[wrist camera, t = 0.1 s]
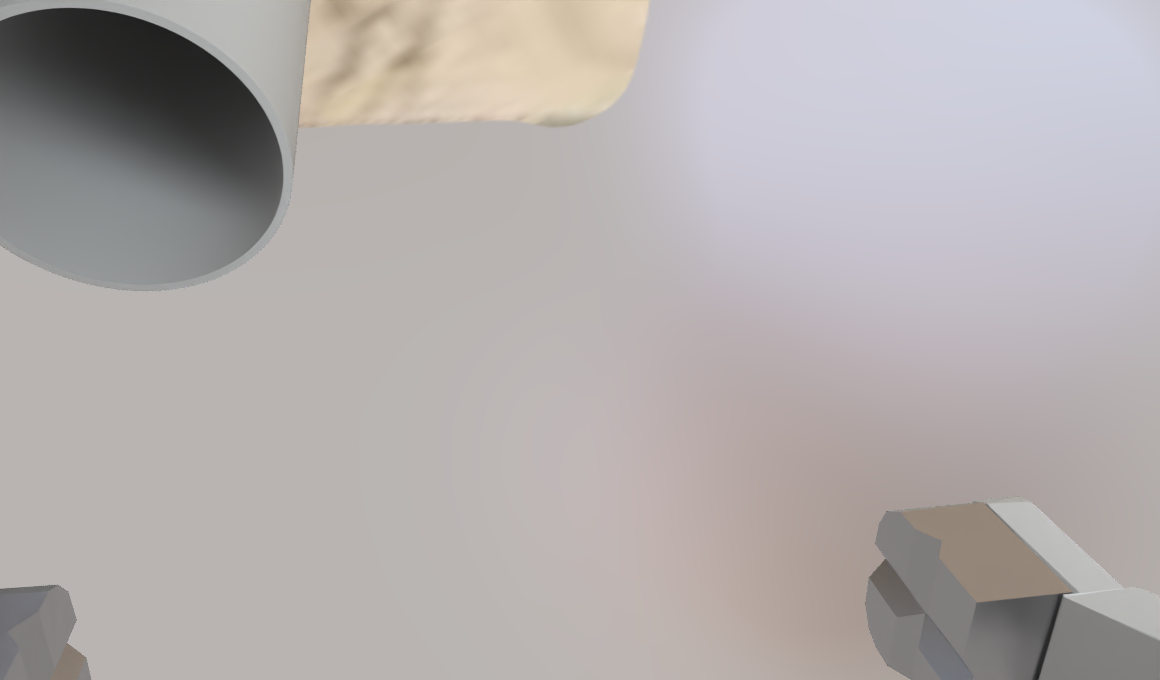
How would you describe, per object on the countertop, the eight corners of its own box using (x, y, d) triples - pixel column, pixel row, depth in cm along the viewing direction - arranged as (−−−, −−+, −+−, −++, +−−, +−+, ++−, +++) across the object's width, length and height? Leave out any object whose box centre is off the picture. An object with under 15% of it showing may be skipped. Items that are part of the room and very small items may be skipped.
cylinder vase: (349, -8, 57) (341, 246, 39) (150, 45, 57) (53, 322, 40) (260, -239, 48) (198, -46, 31) (26, -175, 49) (-171, 53, 31)
